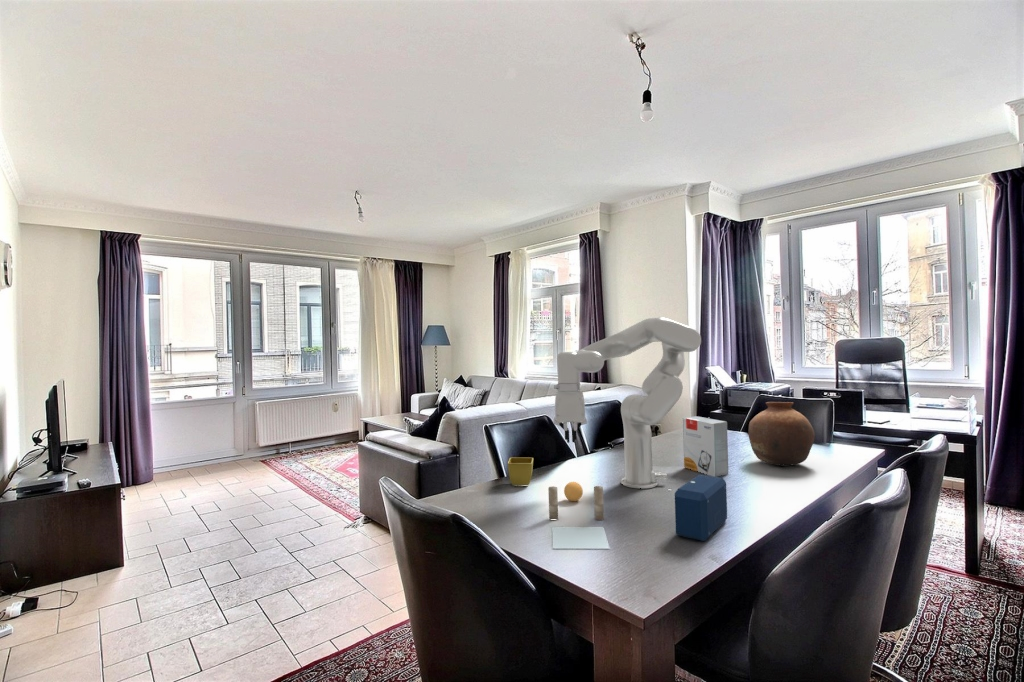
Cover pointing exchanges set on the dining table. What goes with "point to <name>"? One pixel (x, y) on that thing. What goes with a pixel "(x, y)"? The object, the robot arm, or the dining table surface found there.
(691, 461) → the hard drive box
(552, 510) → the post
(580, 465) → the dining table surface
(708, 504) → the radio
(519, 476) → the flower pot
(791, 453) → the pottery
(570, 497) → the ball
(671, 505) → the dining table surface
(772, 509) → the dining table surface
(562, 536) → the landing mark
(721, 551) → the dining table surface
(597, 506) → the post
